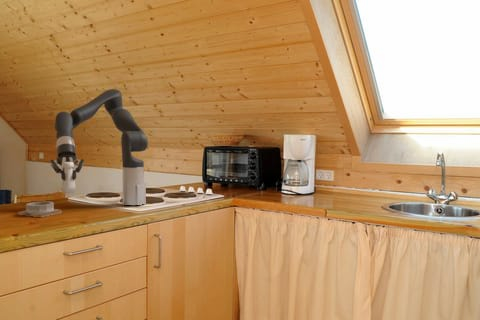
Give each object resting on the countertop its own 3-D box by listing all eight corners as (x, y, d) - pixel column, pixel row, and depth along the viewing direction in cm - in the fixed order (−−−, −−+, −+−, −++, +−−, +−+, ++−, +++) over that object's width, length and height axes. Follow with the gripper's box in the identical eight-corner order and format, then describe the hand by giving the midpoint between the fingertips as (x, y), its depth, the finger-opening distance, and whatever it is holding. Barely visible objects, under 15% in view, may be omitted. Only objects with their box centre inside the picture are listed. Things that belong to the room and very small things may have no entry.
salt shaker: (57, 193, 167) (57, 162, 166) (68, 191, 172) (67, 161, 171) (68, 194, 165) (68, 162, 164) (79, 192, 170) (78, 161, 169)
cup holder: (61, 212, 162) (61, 202, 162) (40, 217, 153) (40, 206, 152) (39, 210, 166) (39, 200, 166) (18, 214, 157) (17, 204, 157)
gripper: (82, 154, 182) (86, 184, 172) (48, 154, 175) (50, 185, 166) (83, 142, 177) (87, 172, 167) (48, 142, 170) (50, 174, 160)
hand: (69, 179), depth 166 cm, fingers closed on salt shaker, 3 cm apart
